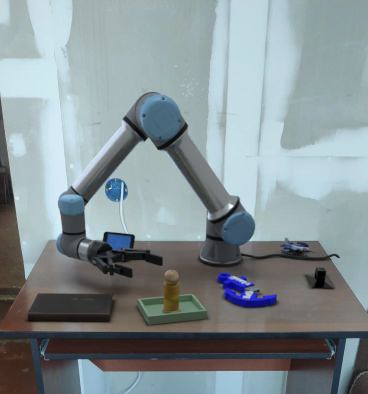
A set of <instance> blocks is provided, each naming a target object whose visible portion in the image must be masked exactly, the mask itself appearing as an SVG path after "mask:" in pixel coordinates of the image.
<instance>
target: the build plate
mask: <svg viewBox="0 0 368 394" xmlns="http://www.w3.org/2000/svg"><path fill="white" fill-rule="evenodd" d="M305 277H306V279H307V281H308V283H309V287H310V288H311V289H317V290H318V289H319V290H321V289H323V290H333V289H334V287H333V285H332V283H331V282H330V279H329V278H328V275H327V269H326V268H325V267H324V266H323V267H320V266H319V267H317V266H316V267H315V270H314V274H305Z"/></svg>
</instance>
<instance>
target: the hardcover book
mask: <svg viewBox="0 0 368 394" xmlns="http://www.w3.org/2000/svg"><path fill="white" fill-rule="evenodd" d="M113 298H114V293H65V292H64V293H62V292H61V293H60V292H59V293H58V292H57V293H56V292H55V293H54V292H52V293H51V292H50V293H49V292H48V293H47V292H46V293H45V292H38V293H36V296H35V297H34V300H33V302H32V304H31V306H30V308H29V310H28V312H27V320H28V321H31V322H36V321H37V322H110V319H111V315H112V310H113V309H112V308H113V303H114V299H113Z"/></svg>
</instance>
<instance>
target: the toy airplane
mask: <svg viewBox="0 0 368 394" xmlns="http://www.w3.org/2000/svg"><path fill="white" fill-rule="evenodd" d="M280 247H281V248H283V249H281V251H282V252H285V254H286V255H289V253H294V254H295V253H296V254H303V253H305V254H304V257H308V253H312V254H313V253H314V254H317V255H318V254H319V253H318V252H315V251H312V250H310V248H309V247H310V246H309V244H308V243H306V242H303V241H301V242H300V241H297V242H296V244H295V243H294V242H290V240H289V238H288V237H284V241H283V243H282V244H280Z"/></svg>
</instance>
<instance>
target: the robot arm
mask: <svg viewBox="0 0 368 394" xmlns="http://www.w3.org/2000/svg"><path fill="white" fill-rule="evenodd" d="M147 140H150V141H151V143H152V144H153V145H154V147H155V148H156V150H157V151H158V152H161V153H162V152H163V153H165V154H166V155H167V156H168V157H169V159H170V160H171V162H172V163H173V165H174V166H175V167H176V169H177V170H178V172H179V173H180V174H181V175H182V177H183V178H184V180H185V181H186V182H187V184H188V185H189V187H190V188H191V189H192V191H193V192H194V194H195V196H196V197H197V198H198V200H199V201H200V202H201V203H202V205H203V206H204V207H205V209H206V221H205V222H206V223H205V238H204V242H203V245H202V247H201V249H200V254H199V260H200V261H201V262H202V263H203V264H206V265H210V266H213V267H214V266H215V267H230V266H236V265H238V264H240V263H241V262H242V257H246V258H251V259H255V260H256V259H257V260H261V259H267V258H271V257H281V258H283V257H284V258H290V259H296V260H297V259H298V260H309V261H310V260H312V261H320V260H327V259H330V258H333V257H336V258H337V259H341V256H340V255H338V253H330V254H328V255H326V256H313V257H312V256H307V257H305V256H299V255H298V256H297V255H292V254H286V253H285V254H284V253H271V254H266V255H258V256H257V255H252V254H248V253H243V252H241V247H240V246H243V245H245V244H247V243H248V242H250V240H251V239H252V238H253V236H254V234H255V231H256V222H255V219H254V217H253V216H252V214H250V213H249V212H248V211H247V210H246V209H245V207H244V205H243V204H242V202H241V198H240V196H239V195H235V194H230V193H229V192H228V191H227V189H226V187H225V186H224V184H223V183H222V181H221V180H220V179H219V177H218V176H217V174H216V173H215V172H214V170H213V168H212V167H211V166H210V164H209V162H208V161H207V160H206V158H205V157H204V155H203V154H202V152H201V150H200V149H199V148H198V146H197V145H196V144H195V141H193V139H192V138H191V136H190V135H189V124H188V123H187V121H186V120H185V118H184V116H183V115H182V113H181V110H180V107H179V105H178V103H176V102H175V100H174V99H172V97H169V96H168V95H166V94H162V93H160V92H156V91H148V92H145V93H143V94H142V95H140V96H139V97H138V98H137V99H136V100H135V102H134V103H133V105H132V106H131V107H130V109H129V110H128V111H127V112H126V114H125V115H124V116H123V117H122V119H121V125H120V127H119V128H118V129H117V130H116V131H115V132H114V134H113V135H112V136H111V137H110V138H109V140H108V141H107V142H106V143H105V144H104V145H103V147H102V148H101V149H100V150H99V151H98V153H97V154H95V157H93V159H91V161H90V162H89V163H88V165H86V167H85V168H84V170H83V171H82V172H81V173H80V174H79V175H78V177H77V178H76V179H75V180H74V181H73V183H72V184H71V185H70V186H69V187H68V188H67V190H65V191H63V192H61V193H60V195H59V197H58V200H57V207H58V211H59V215H60V222H61V233H60V234H59V235H58V236H57V239H56V242H55V243H56V244H55V246H56V249H57V251H58V252H59V253H60V254H61V255H63V256H66V257H67V258H71V259H75V260H79V261H81V262H86V263H89V265H92V266H93V267H96V268H97V269H98V270H99V271H100V272H101V273H102V274H103V275H109V276H111V277H113V276H114V275H115V274H117V275H120V276H123V277H126V278H129V279H132V278H133V277H134V276H133V275H134V274H133V273H134V272H133V268H132V267H129V266H127V265H122V264H119V263H125V262H127V261H145V263H149V264H151V265H156V266H159V267H163V266H164V257H163V256H161V255H158V254H154V253H151V250H150V249H147V248H145V249H142V248H133V249H131V248H124V247H121V250H117V249H113V248H112V247H111V245H110V244H108V243H106V242H102V241H103V240H98V239H95V238H91V237H87V229H86V212H85V209H86V206H87V205H88V204H89V203H90V201H91V200H92V199H93V198H94V196H95V195H96V194H97V193H98V192H99V191H100V189H101V188H102V187H103V186H104V185H105V183H106V182H107V181H108V180H109V179H110V178H111V177H112V176H113V174H114V173H115V172H116V171H117V170H118V169H119V167H120V166H121V165H122V164H123V162H125V161H126V159H128V157H130V155H131V154H132V152H133V151H134V150H135V149H136V147H138V145H139V144H142V143H145V142H146V141H147ZM122 256H123V257H124V259H122Z"/></svg>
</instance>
